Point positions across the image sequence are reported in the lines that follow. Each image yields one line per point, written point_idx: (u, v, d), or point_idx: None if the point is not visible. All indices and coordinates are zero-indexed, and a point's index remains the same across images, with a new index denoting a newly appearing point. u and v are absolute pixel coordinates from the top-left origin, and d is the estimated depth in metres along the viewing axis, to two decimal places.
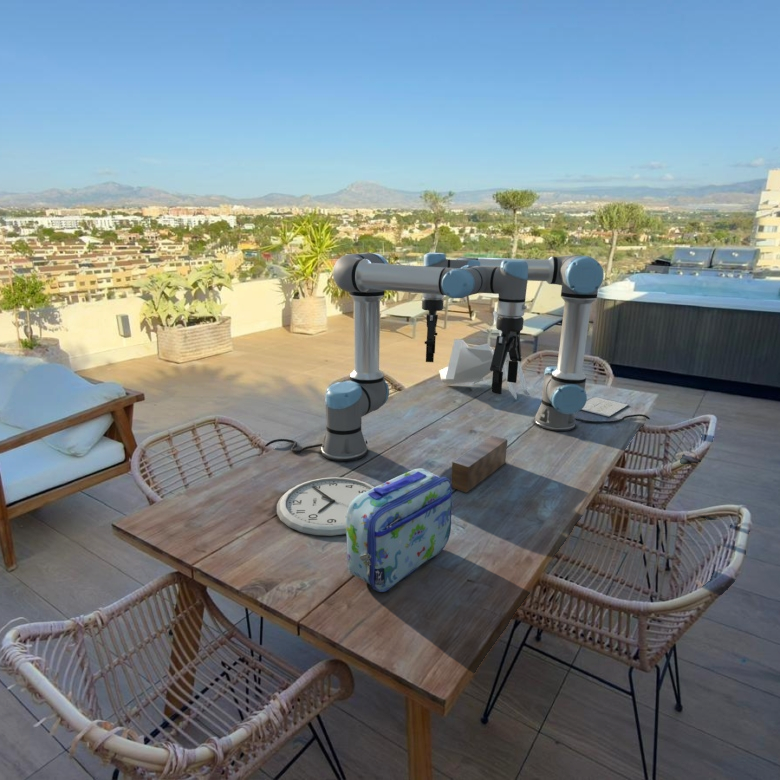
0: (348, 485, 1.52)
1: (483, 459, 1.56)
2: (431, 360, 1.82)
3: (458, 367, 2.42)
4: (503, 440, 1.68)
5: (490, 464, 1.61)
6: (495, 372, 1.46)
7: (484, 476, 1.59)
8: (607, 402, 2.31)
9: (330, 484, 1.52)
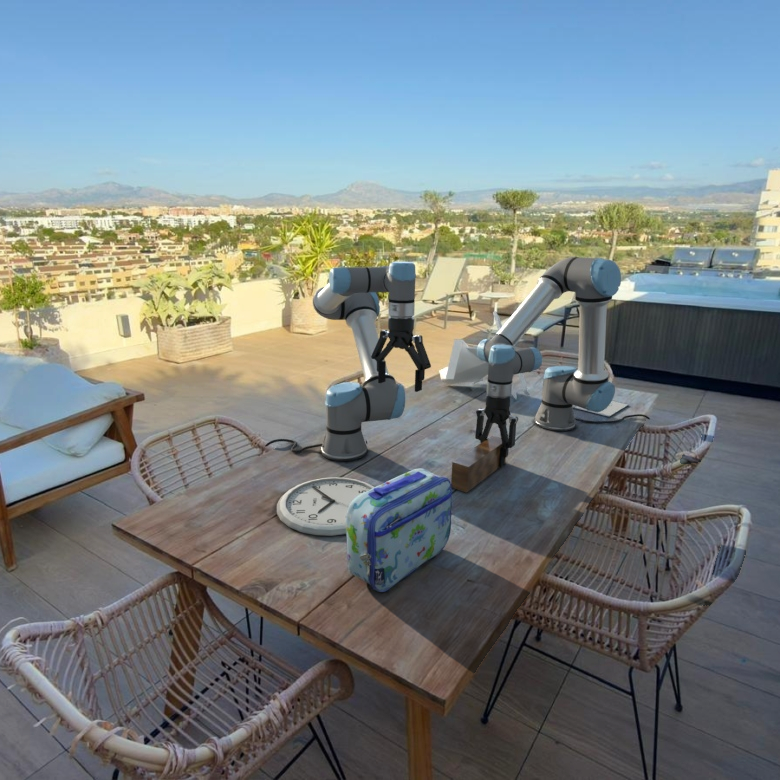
0: (348, 485, 1.52)
1: (483, 459, 1.56)
2: (503, 463, 1.68)
3: (458, 367, 2.42)
4: None
5: (490, 464, 1.61)
6: None
7: (484, 476, 1.59)
8: None
9: (330, 484, 1.52)
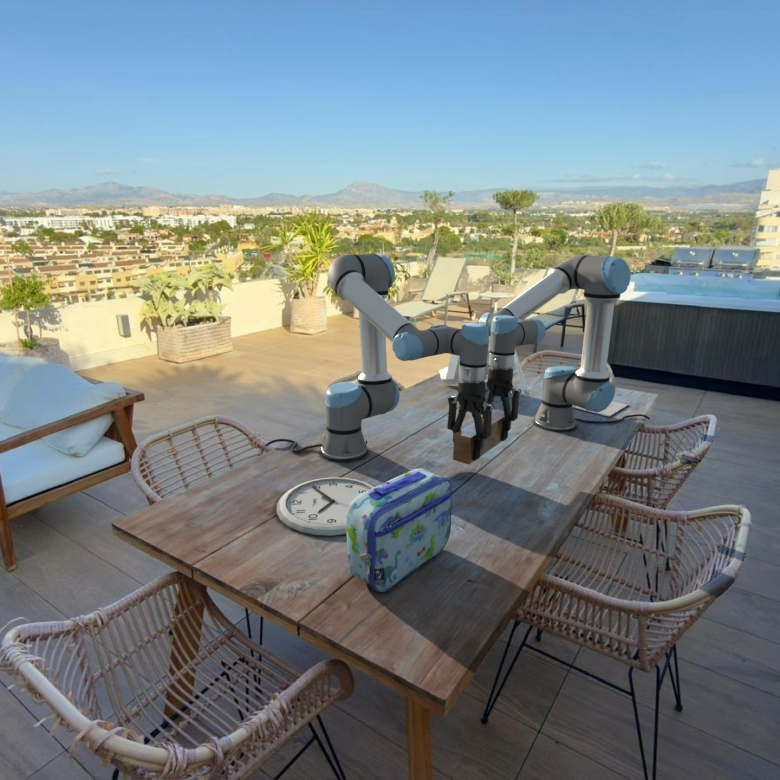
0: (348, 485, 1.52)
1: None
2: (506, 437, 1.65)
3: (458, 367, 2.42)
4: None
5: (493, 437, 1.58)
6: None
7: (486, 449, 1.56)
8: None
9: (330, 484, 1.52)
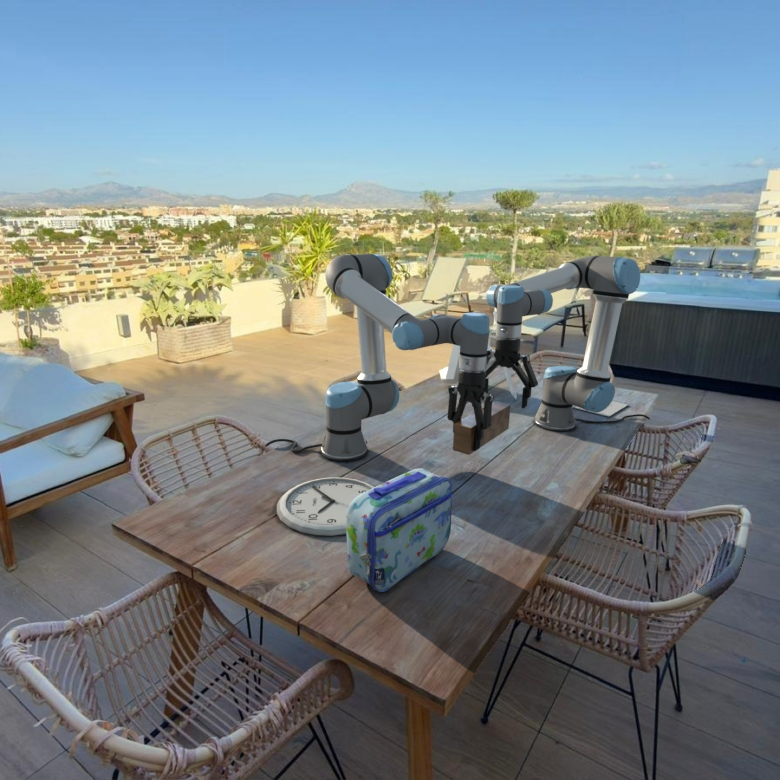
0: (348, 485, 1.52)
1: None
2: (526, 404, 1.63)
3: (458, 367, 2.42)
4: (506, 405, 1.64)
5: (493, 428, 1.58)
6: None
7: (487, 440, 1.56)
8: None
9: (330, 484, 1.52)
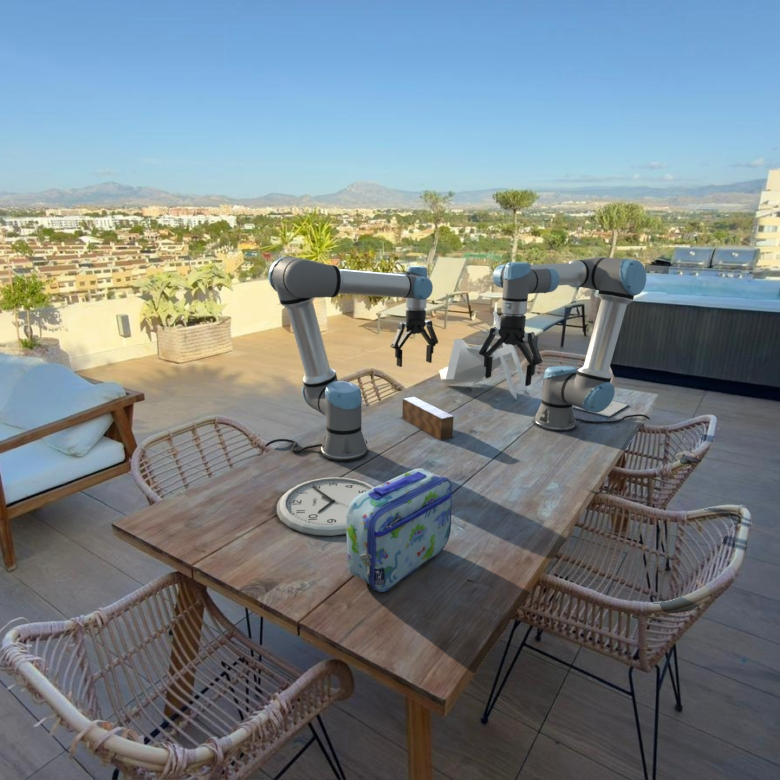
0: (348, 485, 1.52)
1: (415, 407, 1.99)
2: (530, 382, 1.62)
3: (458, 367, 2.42)
4: (440, 417, 1.87)
5: (423, 421, 1.96)
6: None
7: (417, 424, 2.00)
8: None
9: (330, 484, 1.52)
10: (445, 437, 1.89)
